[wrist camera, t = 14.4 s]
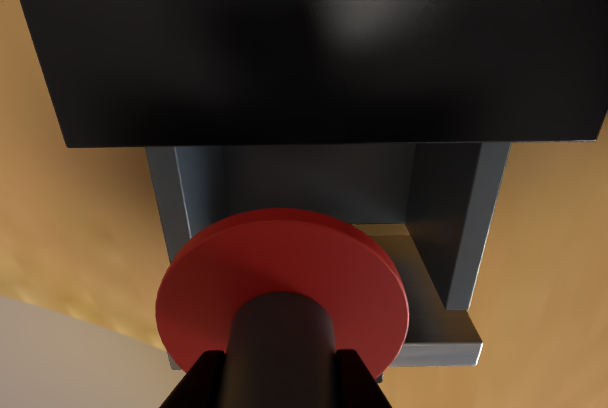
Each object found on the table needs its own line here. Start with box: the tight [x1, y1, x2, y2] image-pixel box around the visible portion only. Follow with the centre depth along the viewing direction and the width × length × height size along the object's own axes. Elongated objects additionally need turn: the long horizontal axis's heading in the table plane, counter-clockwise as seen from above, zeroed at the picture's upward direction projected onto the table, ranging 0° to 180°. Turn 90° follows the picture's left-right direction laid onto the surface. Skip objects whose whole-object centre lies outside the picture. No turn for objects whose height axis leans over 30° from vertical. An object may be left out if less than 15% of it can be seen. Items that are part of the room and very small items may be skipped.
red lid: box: [156, 208, 410, 408], centre depth 8 cm, size 6×6×4 cm
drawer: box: [145, 142, 512, 383], centre depth 15 cm, size 17×11×7 cm, turn 1°
